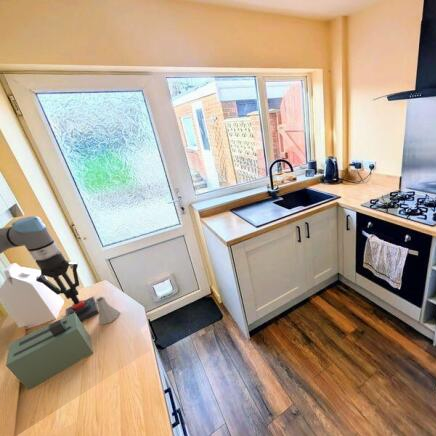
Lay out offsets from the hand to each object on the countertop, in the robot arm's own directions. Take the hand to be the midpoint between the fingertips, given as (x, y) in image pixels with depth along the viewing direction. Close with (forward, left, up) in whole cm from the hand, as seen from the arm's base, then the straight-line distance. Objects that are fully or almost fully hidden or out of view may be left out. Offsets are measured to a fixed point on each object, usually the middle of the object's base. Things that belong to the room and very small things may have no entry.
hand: (76, 302), depth 104 cm
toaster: (+23, -8, -6) cm, 25 cm away
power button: (0, 0, -3) cm, 3 cm away
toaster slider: (+25, -4, +6) cm, 26 cm away
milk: (-13, -13, -6) cm, 20 cm away
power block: (0, 0, -6) cm, 6 cm away
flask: (+13, +8, -6) cm, 16 cm away
